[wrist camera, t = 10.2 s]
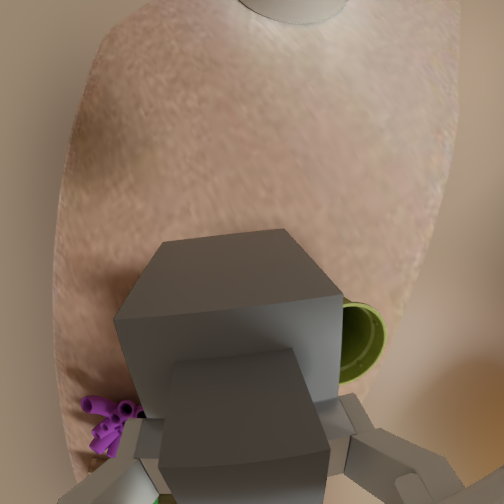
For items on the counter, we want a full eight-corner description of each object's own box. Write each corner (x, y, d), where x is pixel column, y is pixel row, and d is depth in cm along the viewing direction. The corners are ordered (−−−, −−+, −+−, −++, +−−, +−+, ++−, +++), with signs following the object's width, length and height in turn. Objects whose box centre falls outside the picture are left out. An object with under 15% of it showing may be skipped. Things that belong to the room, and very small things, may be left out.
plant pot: (355, 267, 36) (390, 294, 28) (354, 336, 39) (383, 374, 30) (276, 279, 36) (293, 313, 27) (283, 350, 38) (298, 395, 30)
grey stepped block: (162, 242, 17) (60, 413, 5) (283, 228, 18) (413, 375, 5) (182, 346, 19) (158, 545, 7) (289, 334, 19) (363, 521, 7)
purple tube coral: (153, 371, 41) (191, 417, 35) (145, 438, 44) (176, 480, 38) (77, 382, 33) (104, 439, 27) (82, 452, 36) (109, 501, 30)
